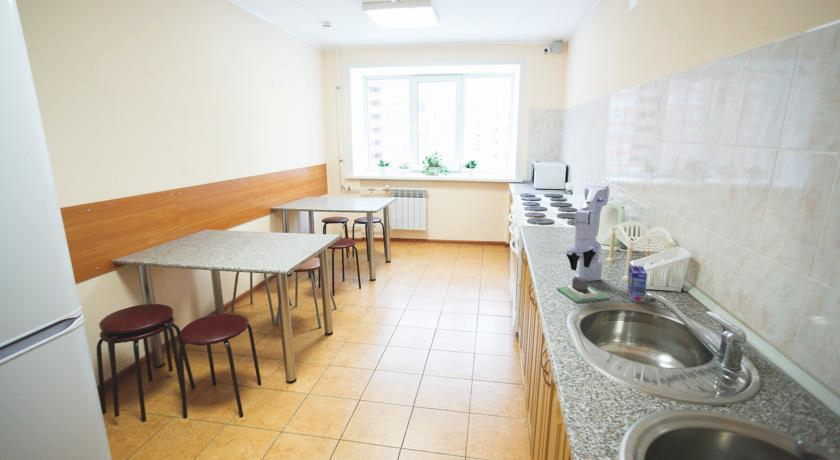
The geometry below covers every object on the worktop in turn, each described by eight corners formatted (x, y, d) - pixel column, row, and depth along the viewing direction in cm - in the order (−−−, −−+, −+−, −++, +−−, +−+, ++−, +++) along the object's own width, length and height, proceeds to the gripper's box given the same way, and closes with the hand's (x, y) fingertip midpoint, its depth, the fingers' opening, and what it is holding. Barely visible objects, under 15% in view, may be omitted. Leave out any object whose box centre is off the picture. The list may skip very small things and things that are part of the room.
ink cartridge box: (626, 292, 171) (629, 259, 168) (640, 293, 169) (644, 260, 166) (629, 301, 162) (633, 267, 159) (645, 302, 160) (648, 268, 157)
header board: (587, 286, 178) (588, 281, 178) (609, 299, 164) (610, 293, 163) (556, 289, 176) (557, 283, 175) (576, 302, 161) (576, 296, 161)
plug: (577, 289, 173) (578, 276, 171) (589, 294, 168) (590, 280, 167) (571, 291, 171) (572, 278, 170) (583, 295, 166) (584, 282, 165)
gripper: (586, 234, 177) (584, 263, 180) (562, 238, 171) (560, 268, 174) (600, 237, 171) (597, 267, 174) (575, 241, 165) (573, 273, 168)
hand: (580, 268), depth 174 cm, fingers open, 7 cm apart
